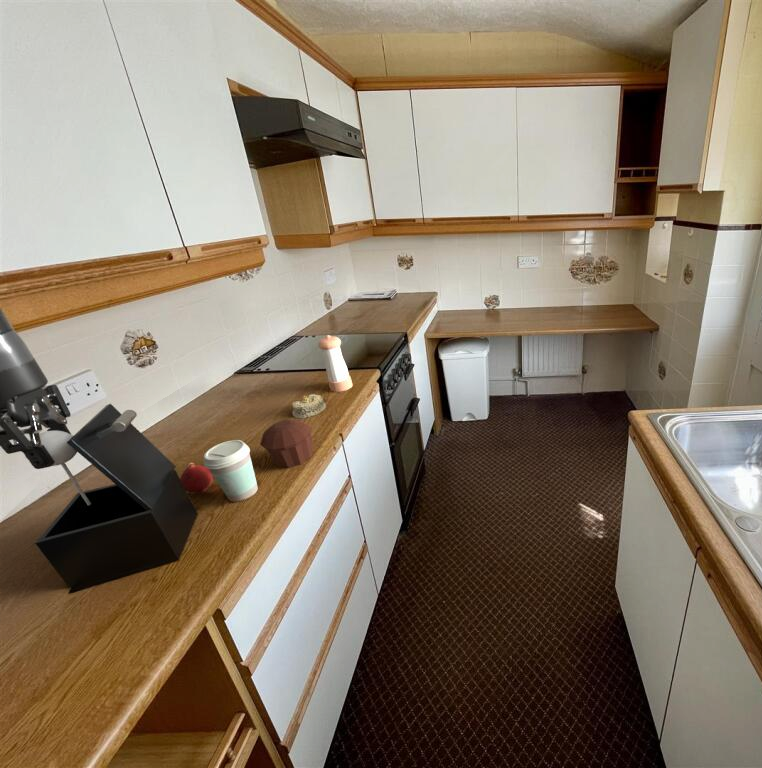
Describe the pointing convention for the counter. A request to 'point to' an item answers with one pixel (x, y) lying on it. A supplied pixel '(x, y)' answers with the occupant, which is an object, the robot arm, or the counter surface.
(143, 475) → the bin lid
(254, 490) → the coffee cup
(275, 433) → the muffin
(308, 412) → the cake
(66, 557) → the bin
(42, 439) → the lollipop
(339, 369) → the pepper shaker
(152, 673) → the counter surface
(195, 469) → the onion
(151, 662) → the counter surface
